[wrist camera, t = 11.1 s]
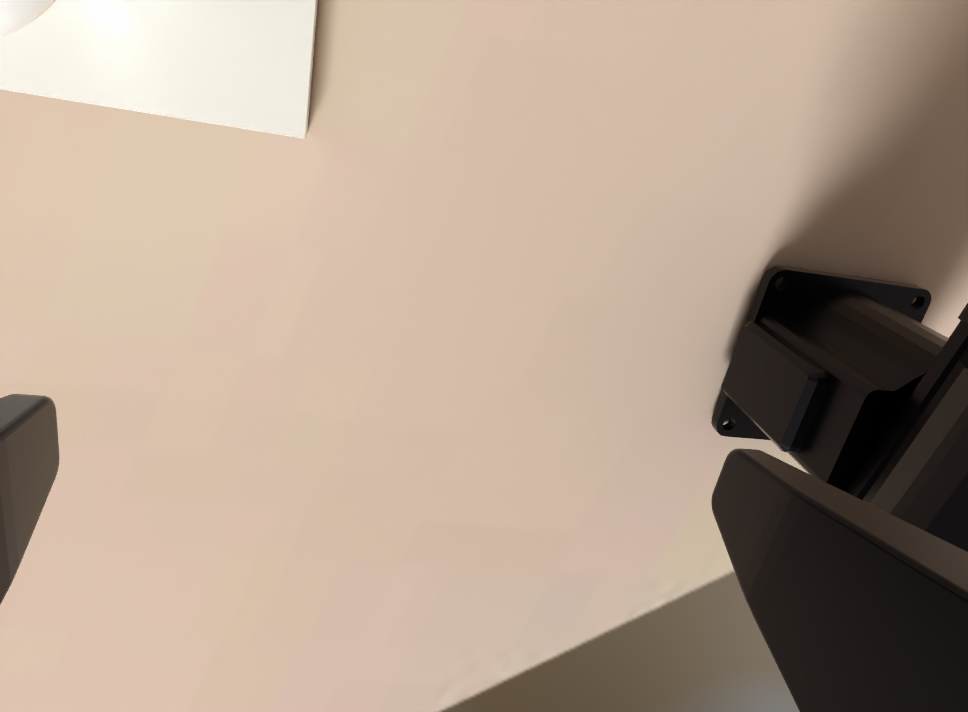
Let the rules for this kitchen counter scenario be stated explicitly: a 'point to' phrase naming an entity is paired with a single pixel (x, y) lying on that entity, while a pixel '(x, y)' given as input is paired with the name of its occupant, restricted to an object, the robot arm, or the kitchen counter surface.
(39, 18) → the milkshake
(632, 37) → the kitchen counter surface
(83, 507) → the kitchen counter surface
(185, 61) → the pad
